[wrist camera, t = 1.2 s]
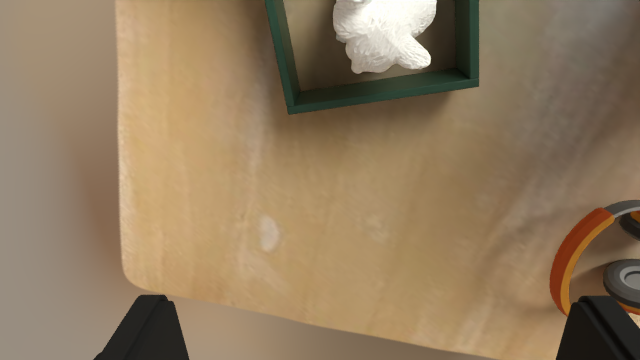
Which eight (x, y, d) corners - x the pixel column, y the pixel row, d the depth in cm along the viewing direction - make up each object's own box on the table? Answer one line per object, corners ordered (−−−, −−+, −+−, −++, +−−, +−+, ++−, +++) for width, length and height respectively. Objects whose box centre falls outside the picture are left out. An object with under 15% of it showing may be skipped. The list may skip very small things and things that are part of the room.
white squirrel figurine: (293, -22, 29) (262, -20, 19) (370, -95, 27) (386, -140, 16) (364, 72, 32) (374, 122, 21) (440, 13, 30) (493, 35, 19)
